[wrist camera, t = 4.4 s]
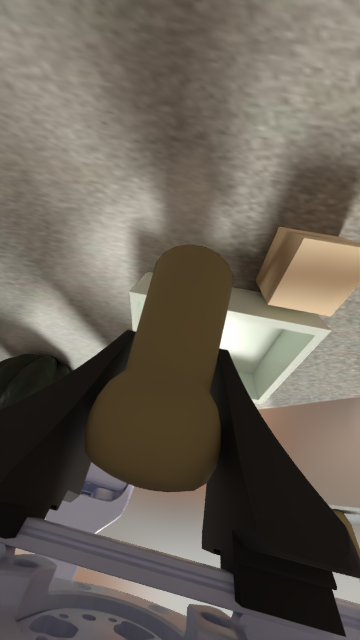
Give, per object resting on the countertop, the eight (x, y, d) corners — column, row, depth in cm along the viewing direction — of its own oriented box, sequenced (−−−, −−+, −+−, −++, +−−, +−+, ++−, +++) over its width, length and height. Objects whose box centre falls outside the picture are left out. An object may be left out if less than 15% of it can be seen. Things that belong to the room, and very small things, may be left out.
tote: (254, 372, 26) (261, 404, 22) (147, 350, 27) (136, 376, 23) (305, 300, 18) (331, 330, 14) (147, 271, 18) (129, 291, 15)
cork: (223, 230, 9) (197, 557, 2) (238, 306, 13) (245, 505, 6) (138, 258, 12) (4, 453, 5) (172, 314, 16) (126, 463, 9)
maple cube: (303, 288, 17) (330, 316, 13) (255, 279, 17) (267, 304, 13) (337, 236, 14) (387, 251, 10) (278, 226, 14) (304, 238, 10)
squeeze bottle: (326, 507, 72) (353, 583, 58) (348, 511, 70) (382, 591, 56) (321, 510, 77) (346, 580, 63) (342, 514, 75) (372, 588, 61)
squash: (-44, 351, 26) (-79, 455, 24) (38, 358, 25) (11, 472, 22) (38, 351, 40) (23, 417, 37) (94, 356, 39) (83, 425, 36)
